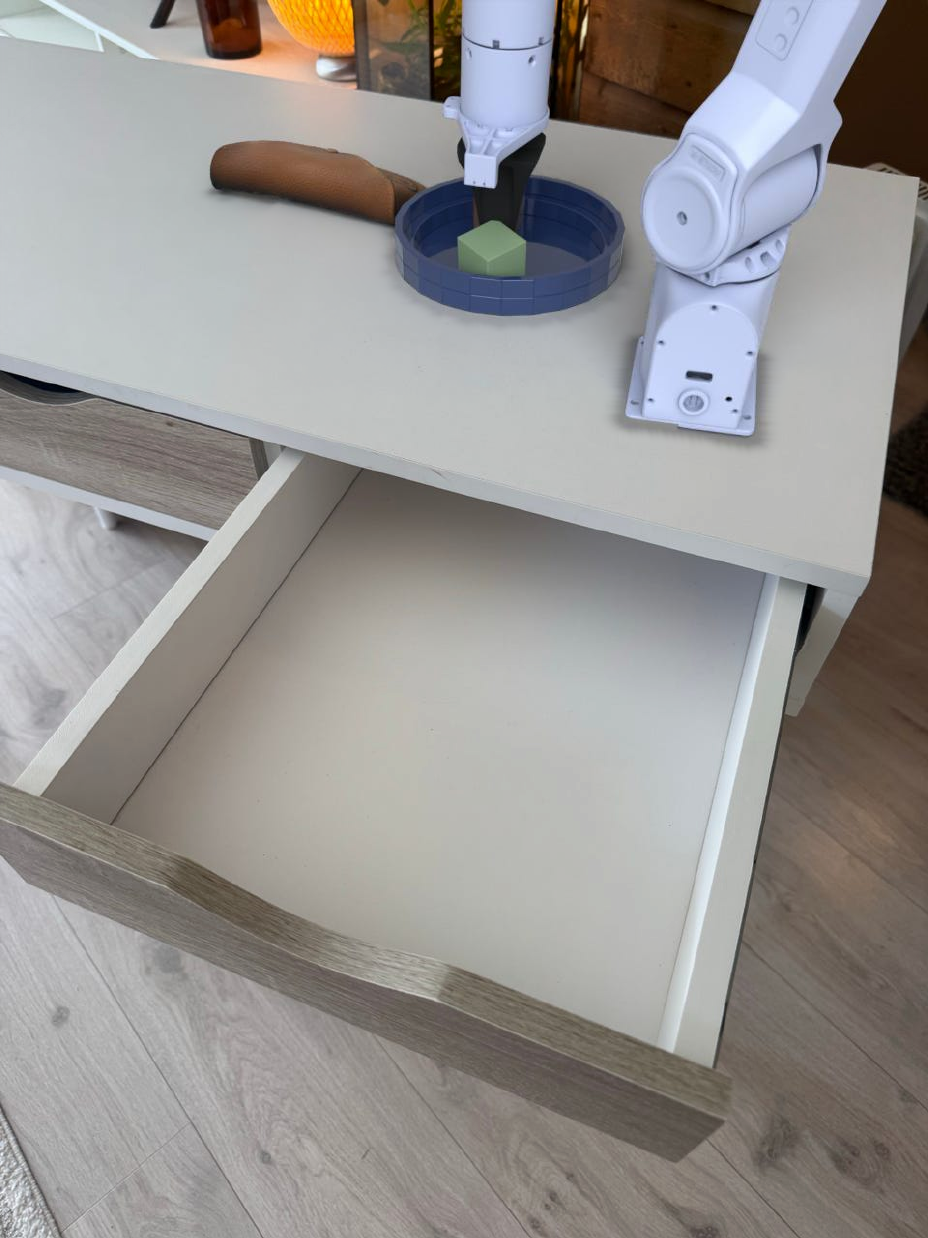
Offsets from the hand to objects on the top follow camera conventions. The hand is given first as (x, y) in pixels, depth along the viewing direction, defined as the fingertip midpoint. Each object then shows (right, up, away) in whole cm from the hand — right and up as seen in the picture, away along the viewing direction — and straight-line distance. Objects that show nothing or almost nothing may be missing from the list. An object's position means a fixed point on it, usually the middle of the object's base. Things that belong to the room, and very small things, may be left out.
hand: (496, 240), depth 69 cm
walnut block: (0, +4, +7) cm, 8 cm away
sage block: (0, -3, 0) cm, 3 cm away
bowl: (+1, 0, +4) cm, 4 cm away
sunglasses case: (-14, +8, +12) cm, 20 cm away
